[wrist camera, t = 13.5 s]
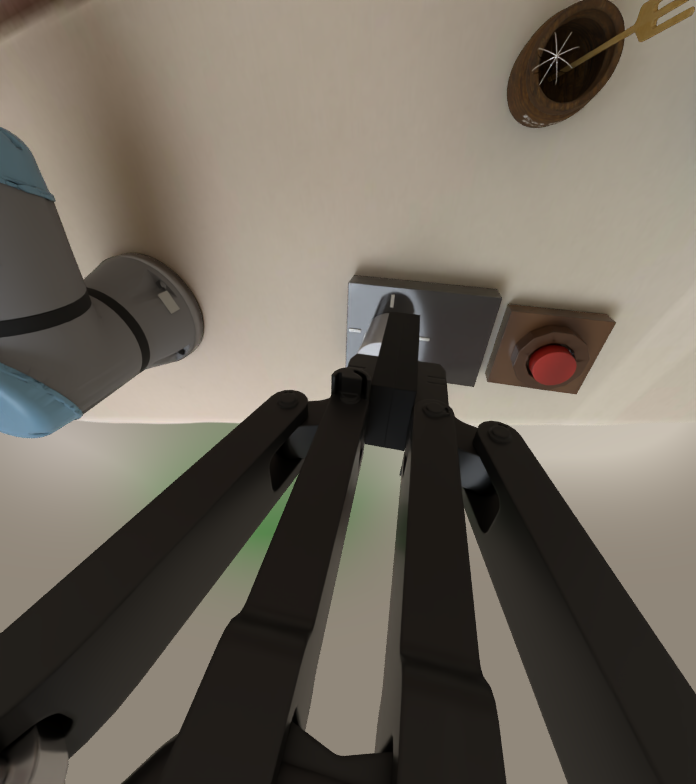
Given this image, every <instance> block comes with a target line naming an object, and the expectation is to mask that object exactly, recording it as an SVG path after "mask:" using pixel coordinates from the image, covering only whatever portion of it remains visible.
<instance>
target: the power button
mask: <svg viewBox="0 0 696 784" xmlns="http://www.w3.org/2000/svg"><path fill="white" fill-rule="evenodd" d="M529 369H530V371H531V373H532V375H533V377H534V379H535V380H536V381H537V382H539V383H541V384H544V385H557V384H560V383H563V382H565V381H566V380H568V379H569V378H570V377H571V376H572V375H573V374H574V372H575V370H576V360H575V359H574V357H573V356H572V354H571V353H570V352H569V350H568V349H567V348H565V347H563V346H561V345H547V346H544V347H541V348H539V349H538V350H536V351H535V352H534V353H533V354H532V356H531V357H530V359H529Z"/></svg>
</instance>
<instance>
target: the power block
mask: <svg viewBox="0 0 696 784" xmlns="http://www.w3.org/2000/svg"><path fill="white" fill-rule="evenodd" d="M615 323H616V322H615V321H614V320H613V319H612V318H610V317H609V316H608V315H607V314H599V313H589V312H579V311H570V310H560V309H550V308H541V307H531V306H522V305H512V304H508V305H507V308H506V311H505V314H504V317H503V320H502V323H501V326H500V329H499V332H498V335H497V338H496V341H495V344H494V347H493V350H492V353H491V356H490V359H489V362H488V365H487V368H486V371H485V374H486V378H487V382H492V383H500V384H507V385H514V386H521V387H528V388H534V389H541V390H549V391H556V392H563V393H570V394H577V392H578V390H579V389H580V387H581V385H582V383H583V381H584V380H585V378H586V376H587V374H588V372H589V371H590V369H591V367H592V365H593V363H594V361H595V360H596V358H597V356H598V354H599V352H600V351H601V349H602V347H603V345H604V343H605V342H606V340H607V338H608V336H609V334H610V333H611V331H612V329H613V327H614V325H615ZM547 345H561V346H563V347H565V348H567V349H568V350H569V352H570V353H571V354H572V356H573V357H574V359H575V360H576V370H575V372H574V374H573V375H572V376H571V377H570V378H569V379H568V380H566V381H565V382H563V383H560V384H557V385H544V384H541V383H539V382H537V381H536V380H535V379H534V377H533V375H532V373H531V371H530V369H529V359H530V357H531V356H532V354H533V353H534V352H535V351H536V350H538V349H539V348H541V347H544V346H547Z"/></svg>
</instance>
